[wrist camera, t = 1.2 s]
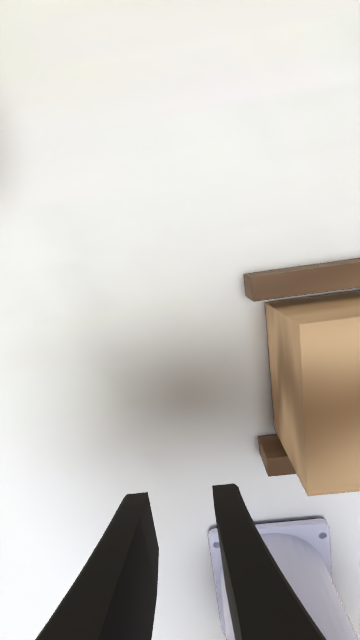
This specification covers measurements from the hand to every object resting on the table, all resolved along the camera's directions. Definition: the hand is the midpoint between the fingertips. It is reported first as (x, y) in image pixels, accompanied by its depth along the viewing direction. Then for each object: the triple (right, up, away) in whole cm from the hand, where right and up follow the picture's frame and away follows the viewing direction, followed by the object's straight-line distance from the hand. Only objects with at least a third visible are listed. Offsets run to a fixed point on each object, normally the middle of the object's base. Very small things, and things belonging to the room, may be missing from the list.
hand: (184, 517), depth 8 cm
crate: (+9, +3, +9) cm, 13 cm away
